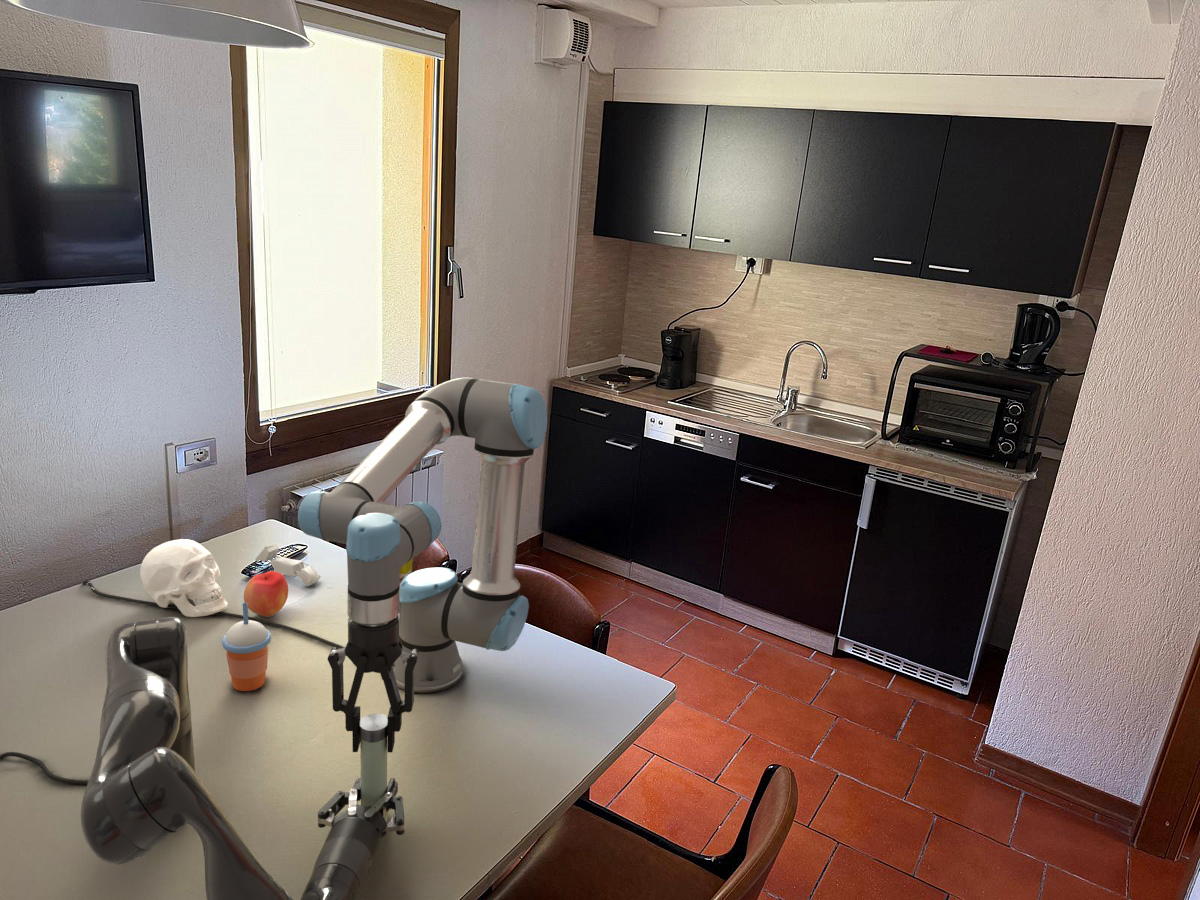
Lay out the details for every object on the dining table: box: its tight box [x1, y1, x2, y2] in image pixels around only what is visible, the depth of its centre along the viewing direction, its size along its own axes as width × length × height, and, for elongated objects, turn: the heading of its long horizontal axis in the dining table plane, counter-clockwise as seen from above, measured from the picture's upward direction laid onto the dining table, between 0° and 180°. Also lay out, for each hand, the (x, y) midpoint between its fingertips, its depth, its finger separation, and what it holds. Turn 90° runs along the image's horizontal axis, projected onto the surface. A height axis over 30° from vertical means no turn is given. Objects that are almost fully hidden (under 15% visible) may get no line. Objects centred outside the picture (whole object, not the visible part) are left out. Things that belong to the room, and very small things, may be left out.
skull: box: [139, 538, 229, 618], centre depth 200 cm, size 13×22×16 cm, turn 73°
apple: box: [243, 570, 289, 618], centre depth 199 cm, size 10×10×10 cm
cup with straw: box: [221, 602, 272, 692], centre depth 171 cm, size 9×9×18 cm
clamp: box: [254, 544, 322, 587], centre depth 219 cm, size 20×4×7 cm, turn 62°
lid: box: [359, 712, 388, 742], centre depth 134 cm, size 5×5×2 cm
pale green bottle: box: [359, 736, 388, 823], centre depth 137 cm, size 4×4×19 cm
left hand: (378, 781), depth 141 cm, fingers closed on pale green bottle, 4 cm apart
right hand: (373, 746), depth 135 cm, fingers open, 5 cm apart
